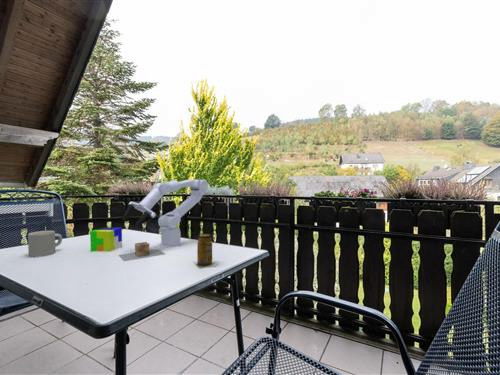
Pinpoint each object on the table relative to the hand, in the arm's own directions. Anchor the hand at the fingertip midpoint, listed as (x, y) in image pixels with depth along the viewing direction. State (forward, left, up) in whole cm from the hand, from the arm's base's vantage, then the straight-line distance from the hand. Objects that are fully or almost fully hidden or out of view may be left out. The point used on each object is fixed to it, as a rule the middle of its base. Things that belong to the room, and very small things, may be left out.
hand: (129, 222), depth 124 cm
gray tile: (-4, +4, -15) cm, 16 cm away
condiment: (-21, +33, -15) cm, 42 cm away
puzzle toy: (+7, -18, -15) cm, 24 cm away
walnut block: (-4, +4, -15) cm, 16 cm away
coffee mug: (+31, -27, -15) cm, 44 cm away
